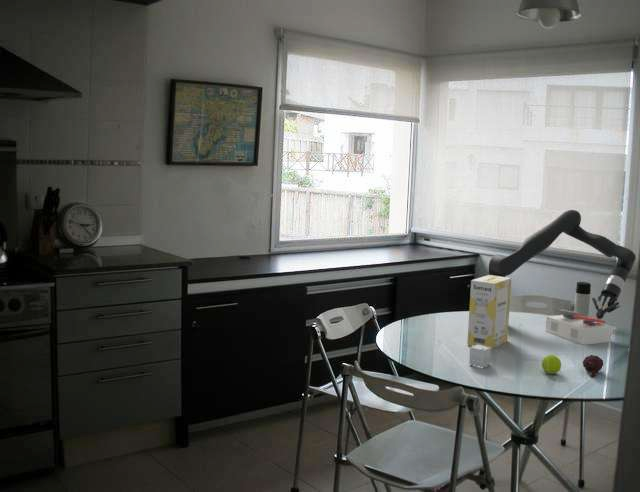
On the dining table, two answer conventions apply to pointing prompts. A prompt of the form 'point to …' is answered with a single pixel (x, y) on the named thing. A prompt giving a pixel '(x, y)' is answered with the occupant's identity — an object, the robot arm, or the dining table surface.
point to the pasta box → (489, 311)
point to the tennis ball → (551, 364)
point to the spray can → (582, 298)
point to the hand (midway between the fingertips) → (598, 317)
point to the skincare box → (480, 355)
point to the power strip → (579, 329)
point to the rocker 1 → (568, 312)
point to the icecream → (593, 364)
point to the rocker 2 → (589, 319)
